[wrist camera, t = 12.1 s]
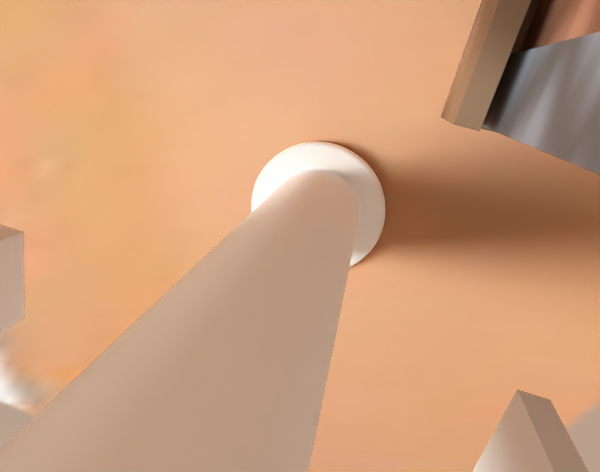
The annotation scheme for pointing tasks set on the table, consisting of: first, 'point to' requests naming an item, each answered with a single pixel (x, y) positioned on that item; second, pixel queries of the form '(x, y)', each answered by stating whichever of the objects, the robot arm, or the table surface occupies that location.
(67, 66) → the table surface
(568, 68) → the rack
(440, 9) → the table surface
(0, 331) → the robot arm
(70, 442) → the white round flared column
